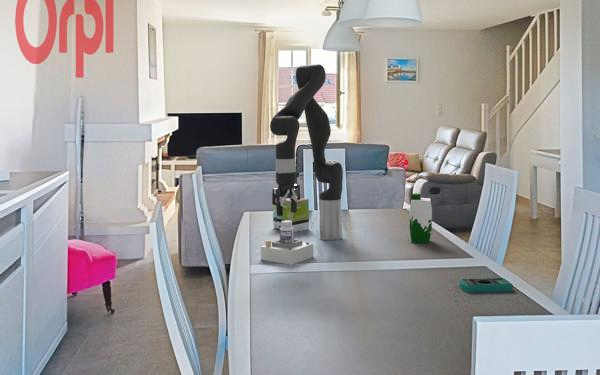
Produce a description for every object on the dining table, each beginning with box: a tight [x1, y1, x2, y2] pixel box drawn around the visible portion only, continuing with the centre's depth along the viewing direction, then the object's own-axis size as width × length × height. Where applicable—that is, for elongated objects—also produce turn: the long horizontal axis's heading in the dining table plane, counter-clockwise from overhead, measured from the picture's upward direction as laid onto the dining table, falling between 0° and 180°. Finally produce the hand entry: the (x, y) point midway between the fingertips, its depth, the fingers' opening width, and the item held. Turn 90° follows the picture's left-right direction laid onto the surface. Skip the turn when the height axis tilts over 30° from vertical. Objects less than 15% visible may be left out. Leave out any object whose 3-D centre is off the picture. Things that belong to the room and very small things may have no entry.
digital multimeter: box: [459, 277, 514, 294], centre depth 178 cm, size 7×15×3 cm, turn 93°
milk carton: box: [409, 193, 433, 245], centre depth 243 cm, size 9×9×20 cm
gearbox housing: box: [260, 238, 314, 266], centre depth 218 cm, size 14×14×7 cm
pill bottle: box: [279, 220, 295, 244], centre depth 218 cm, size 5×5×9 cm
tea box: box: [272, 197, 310, 233], centre depth 274 cm, size 15×10×15 cm, turn 43°
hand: (287, 214), depth 217 cm, fingers open, 8 cm apart
